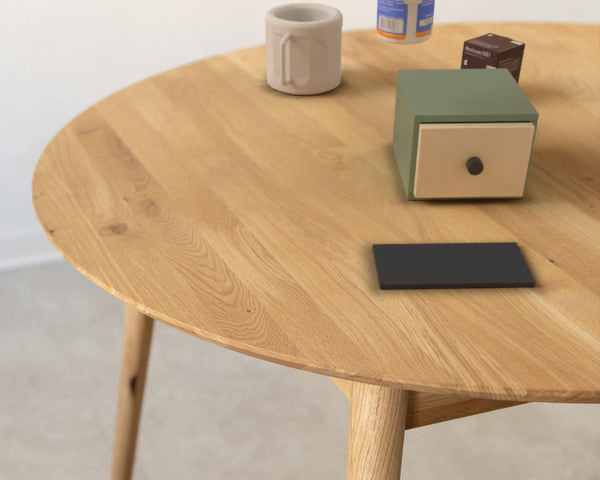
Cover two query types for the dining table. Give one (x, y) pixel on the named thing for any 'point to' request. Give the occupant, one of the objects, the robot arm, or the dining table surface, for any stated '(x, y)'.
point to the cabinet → (453, 109)
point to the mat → (451, 265)
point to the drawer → (472, 159)
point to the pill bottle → (404, 21)
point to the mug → (303, 48)
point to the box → (493, 54)
